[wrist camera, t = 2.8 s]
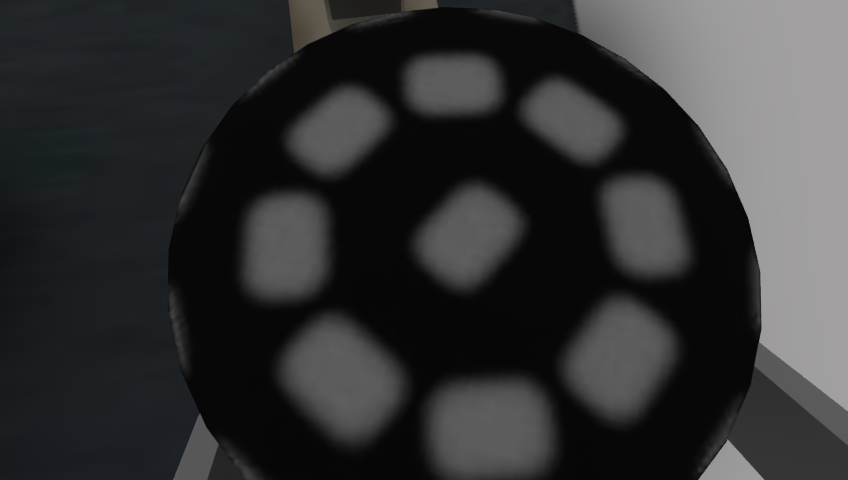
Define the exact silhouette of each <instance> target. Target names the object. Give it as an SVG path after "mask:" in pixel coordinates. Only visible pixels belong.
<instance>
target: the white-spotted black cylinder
mask: <svg viewBox="0 0 848 480" xmlns="http://www.w3.org/2000/svg"><path fill="white" fill-rule="evenodd" d="M168 312H169V316H170V321H171V326H172V331H173V336H174V341H175V346H176V351H177V356H178V361H179V365H180V370H181V372H182V374H183V376H184V378H185V381H186V383H187V385H188V387H189V390H190V392H191V394H192V396H193V399H194V401H195V403H196V405H197V408H198V410H199V412H200V414H201V417H202V419H203V421H204V423H205V426H206V428H207V429H208V431H209V432H210V433H211V435H212V436H213V437H214V439H215V440H216V441H217V443H218V444H219V445H220V447H221V448H222V449H223V451H224V452H225V453H226V455H227V456H228V457H229V459H230V460H231V461H232V463H233V464H234V465H235V467H236V468H237V470H238V471H239V472H240V474H241V475H242V476H243V478H244V479H245V480H698V479H699V478H700V476H701V475H702V474H703V473H704V471H705V470H706V469H707V467H708V466H709V464H710V463H711V462H712V460H713V459H714V458H715V456H716V455H717V454H718V452H719V451H720V450H721V448H722V447H723V446H724V444H725V443H726V441H727V439H728V437H729V435H730V432H731V430H732V428H733V425H734V423H735V421H736V418H737V416H738V414H739V411H740V409H741V407H742V405H743V402H744V400H745V398H746V395H747V393H748V391H749V388H750V386H751V381H752V376H753V370H754V365H755V360H756V354H757V349H758V344H759V339H760V333H761V286H760V269H759V265H758V260H757V255H756V251H755V247H754V242H753V238H752V233H751V229H750V224H749V220H748V217H747V215H746V212H745V210H744V207H743V205H742V203H741V200H740V198H739V196H738V193H737V191H736V189H735V187H734V184H733V182H732V180H731V177H730V175H729V173H728V170H727V168H726V167H725V165H724V164H723V162H722V161H721V159H720V158H719V156H718V155H717V153H716V152H715V150H714V149H713V147H712V146H711V145H710V143H709V141H708V140H707V138H706V137H705V135H704V134H703V132H702V131H701V129H700V128H699V126H698V125H697V124H696V123H695V122H694V121H693V120H692V119H691V118H690V116H689V115H688V114H687V113H686V112H685V111H684V110H683V109H682V108H681V107H680V106H679V105H678V104H677V102H676V101H675V100H674V99H673V98H672V97H671V96H670V95H669V94H668V93H667V92H666V91H665V90H664V89H663V88H662V87H660V86H659V85H658V84H657V83H655V82H654V81H653V80H652V79H650V78H649V77H648V76H646V75H645V74H644V73H643V72H641V71H640V70H639V69H637V68H636V67H635V66H634V65H632V64H631V63H630V62H628V61H627V60H626V59H624V58H623V57H621V56H619V55H617V54H615V53H613V52H611V51H610V50H608V49H606V48H604V47H602V46H601V45H599V44H597V43H595V42H593V41H592V40H590V39H588V38H586V37H584V36H583V35H580V34H577V33H575V32H572V31H569V30H566V29H564V28H561V27H558V26H556V25H553V24H550V23H547V22H545V21H542V20H539V19H536V18H531V17H526V16H521V15H516V14H511V13H506V12H501V11H496V10H491V9H472V8H452V7H440V8H431V9H421V10H412V11H402V12H395V13H392V14H388V15H384V16H380V17H377V18H373V19H369V20H366V21H362V22H358V23H354V24H351V25H349V26H347V27H344V28H342V29H340V30H338V31H336V32H333V33H331V34H329V35H327V36H324V37H322V38H320V39H318V40H316V41H313V42H311V43H309V44H307V45H306V46H304V47H303V48H301V49H300V50H298V51H297V52H295V53H294V54H292V55H291V56H289V57H288V58H286V59H285V60H283V61H282V62H281V63H279V64H278V65H276V66H275V67H273V68H272V69H270V70H269V71H267V72H266V73H265V74H264V75H263V76H262V77H261V78H260V79H259V80H258V81H257V82H256V83H255V84H254V85H253V86H252V87H251V88H250V89H249V90H248V91H247V92H246V93H245V94H244V95H243V96H242V97H241V98H240V99H239V100H238V101H236V102H235V103H234V104H233V105H232V107H231V108H230V109H229V111H228V112H227V114H226V115H225V116H224V118H223V119H222V121H221V122H220V124H219V125H218V126H217V128H216V129H215V131H214V132H213V133H212V135H211V136H210V138H209V139H208V141H207V142H206V143H205V145H204V146H203V148H202V150H201V152H200V154H199V157H198V159H197V161H196V163H195V166H194V168H193V170H192V172H191V174H190V177H189V179H188V181H187V183H186V186H185V188H184V190H183V192H182V195H181V197H180V202H179V206H178V211H177V215H176V220H175V224H174V229H173V233H172V238H171V242H170V246H169V261H168Z"/></svg>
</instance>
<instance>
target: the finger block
mask: <svg viewBox="0 0 848 480" xmlns="http://www.w3.org/2000/svg"><path fill="white" fill-rule="evenodd" d="M324 4H325V8H326V13H327V18H328V23H329V27H330V31H338V30H340V29H342V28H344V27H347V26H349V25H351V24H354V23H358V22H362V21H366V20H369V19H373V18H377V17H380V16H384V15H388V14H392V13H395V12H402V11H404V0H324Z"/></svg>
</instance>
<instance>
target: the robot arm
mask: <svg viewBox="0 0 848 480" xmlns="http://www.w3.org/2000/svg"><path fill="white" fill-rule="evenodd" d="M728 440H729V441H730V442H731V443H732V444H733V445H734V446H735V448H736V449H737V450H738V451H739V452H740V453H741V454H742V455H743V456H744V458H745V459H746V460H747V461H748V462H749V463H750V464H751V465H752V466H753V468H754V469H755V470H756V471H757V472H758V473H759V474H760V475H761V476H762V477H763V479H764V480H848V411H846V410H845V409H844V408H843V407H841V406H840V405H839V404H837V403H836V402H835V401H834V400H832V399H831V398H830V397H828V396H827V395H826V394H825V393H823V392H822V391H821V390H819V389H818V388H817V387H816V386H814V385H813V384H812V383H810V382H809V381H808V380H806V379H805V378H804V377H803V376H802V375H800V374H799V373H798V372H796V371H795V370H794V369H792V368H791V367H790V366H789V365H787V364H786V363H785V362H784V361H782V360H781V359H780V358H778V357H777V356H776V355H775V354H773V353H772V352H770V351H769V350H768V349H767V348H766V347H764V346H763V345H762V344H761V343H759V344H758V349H757V354H756V360H755V365H754V370H753V376H752V381H751V386H750V388H749V391H748V393H747V395H746V398H745V400H744V402H743V405H742V407H741V409H740V411H739V414H738V416H737V418H736V421H735V423H734V425H733V428H732V430H731V432H730V435H729V437H728ZM173 480H245V479H244V478H243V476H242V475H241V474H240V472H239V471H238V470H237V468H236V467H235V465H234V464H233V463H232V461H231V460H230V459H229V457H228V456H227V455H226V453H225V452H224V451H223V449H222V448H221V447H220V445H219V444H218V443H217V441H216V440H215V439H214V437H213V436H212V435H211V433H210V432H209V431H208V429H207V428H206V426H205V423H204V421H203V419H202V417H201V414H199V416H198V419H197V421H196V424H195V426H194V429H193V431H192V434H191V436H190V439H189V442H188V444H187V447H186V449H185V452H184V454H183V457H182V459H181V462H180V464H179V467H178V469H177V472H176V474H175V477H174V479H173Z"/></svg>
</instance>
